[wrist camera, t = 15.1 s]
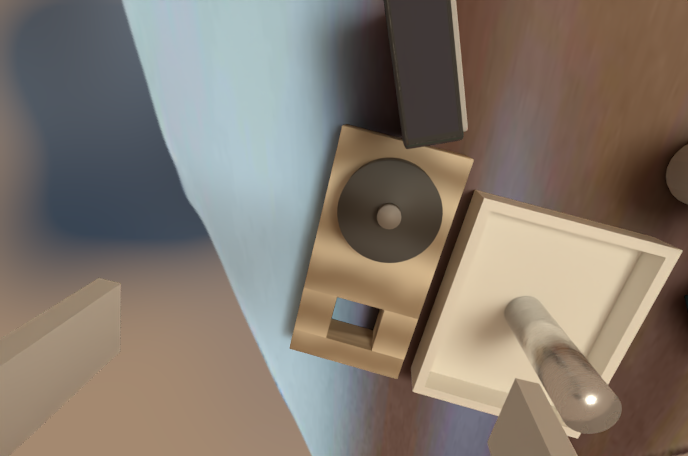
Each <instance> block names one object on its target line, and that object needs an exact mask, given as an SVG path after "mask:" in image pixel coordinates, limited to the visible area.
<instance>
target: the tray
mask: <svg viewBox="0 0 688 456" xmlns="http://www.w3.org/2000/svg"><path fill="white" fill-rule="evenodd" d="M682 251H683V250H681V249H679V248H676V247H674V246H672V245H670V244H668V243H666V242H664V241H661V240H659V239H657V238H655V237H653V236H649V235H645V234H641V233H637V232H634V231H630V230H626V229H622V228H618V227H615V226H611V225H607V224H603V223H600V222H596V221H592V220H588V219H584V218H581V217H577V216H573V215H569V214H566V213H562V212H558V211H554V210H550V209H547V208H543V207H539V206H535V205H531V204H528V203H524V202H520V201H516V200H513V199H509V198H505V197H501V196H497V195H494V194H490V193H486V192H482V191H478V190H474V193H473V196H472V199H471V202H470V204H469V207H468V210H467V213H466V215H465V218H464V221H463V224H462V227H461V229H460V232H459V235H458V238H457V241H456V243H455V246H454V249H453V252H452V254H451V257H450V260H449V263H448V266H447V268H446V271H445V274H444V277H443V280H442V282H441V285H440V288H439V291H438V293H437V296H436V299H435V302H434V305H433V307H432V310H431V313H430V316H429V319H428V321H427V324H426V327H425V330H424V332H423V335H422V338H421V341H420V344H419V346H418V349H417V352H416V355H415V358H414V360H413V363H412V366H411V378H412V389H413V392H416V393H419V394H423V395H426V396H430V397H433V398H437V399H440V400H444V401H447V402H451V403H454V404H458V405H461V406H465V407H468V408H472V409H475V410H479V411H482V412H486V413H490V414H493V415H497V416H499V414H500V412H501V410H502V407H503V405H504V403H505V400H506V398H507V396H508V394H509V391H510V389H511V387H512V384H513V382H514V380H515V378H517V379H522V380H526V381H530V382H534V383H538V384H540V386H541V388H542V390H543V392H544V394H545V395H546V397H547V399H548V401H549V403H550V405H551V407H552V409H553V410H554V412H555V414H556V416H557V418H558V420H559V422H560V424H561V425H562V427H563V429H564V431H565V433H566V435H567V436H570V437H574V438H577V439H578V437H579V436H580V434H581V433H580V432H577V431H574V430H572V429H571V428H569V427H568V426H567V425H566V424H565V423H564V421H563V420H562V418H561V416H560V414H559V413H558V411H557V409H556V407H555V406H554V404H553V402H552V400H551V399H550V397H549V395H548V393H547V392H546V390H545V388H544V386H543V385H542V383H541V381H540V379H539V378H538V376H537V374H536V372H535V371H534V369H533V367H532V365H531V364H530V362H529V360H528V358H527V356H526V355H525V353H524V351H523V349H522V348H521V346H520V344H519V342H518V341H517V339H516V337H515V335H514V334H513V332H512V330H511V328H510V327H509V325H508V323H507V321H506V319H505V315H504V312H505V308H506V306H507V305H508V303H509V302H510V301H512V300H513V299H515V298H517V297H520V296H531V297H534V298H536V299H538V300H539V301H540V302H541V303H542V304H543V306H544V307H545V308H546V309H547V311H548V312H549V313H550V314H551V315H552V317H553V318H554V319H555V320H556V322H557V323H558V324H559V325H560V327H561V328H562V329H563V330H564V332H565V333H566V334H567V335H568V337H569V338H570V339H571V340H572V341H573V343H574V344H575V345H576V346H577V348H578V349H579V350H580V351H581V353H582V354H583V355H584V356H585V358H586V359H587V360H588V361H589V362H590V364H591V365H592V366H593V367H594V369H595V370H596V371H597V372H598V374H599V375H600V376H601V377H602V379H603V380H604V381H605V382H606V384H607V385H608V384H609V382H610V380H611V378H612V376H613V375H614V373H615V371H616V369H617V368H618V366H619V364H620V362H621V360H622V359H623V357H624V355H625V353H626V351H627V350H628V348H629V346H630V344H631V342H632V341H633V339H634V337H635V335H636V334H637V332H638V330H639V328H640V326H641V325H642V323H643V321H644V319H645V317H646V316H647V314H648V312H649V310H650V308H651V307H652V305H653V303H654V301H655V300H656V298H657V296H658V294H659V292H660V291H661V289H662V287H663V285H664V283H665V282H666V280H667V278H668V276H669V274H670V273H671V271H672V269H673V267H674V266H675V264H676V262H677V260H678V258H679V257H680V255H681V253H682Z"/></svg>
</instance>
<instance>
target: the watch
mask: <svg viewBox="0 0 688 456" xmlns="http://www.w3.org/2000/svg"><path fill="white" fill-rule="evenodd" d="M684 297H685V302H686V306H687V311H688V295H685V296H684Z"/></svg>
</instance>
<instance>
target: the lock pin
mask: <svg viewBox="0 0 688 456" xmlns="http://www.w3.org/2000/svg"><path fill="white" fill-rule="evenodd" d="M504 315H505V319H506V321H507V323H508V325H509V327H510V328H511V330H512V332H513V334H514V335H515V337H516V339H517V341H518V342H519V344H520V346H521V348H522V349H523V351H524V353H525V355H526V356H527V358H528V360H529V362H530V364H531V365H532V367H533V369H534V371H535V372H536V374H537V376H538V378H539V379H540V381H541V383H542V385H543V386H544V388H545V390H546V392H547V393H548V395H549V397H550V399H551V400H552V402H553V404H554V406H555V407H556V409H557V411H558V413H559V414H560V416H561V418H562V420H563V421H564V423H565V424H566V425H567V426H568V427H569V428H571V429H572V430H574V431H577V432H580V433H586V434H592V433H599V432H602V431H604V430H607V429H609V428H610V427H612V426H613V425H614V424H615V423H616V422H617V420H618V419H619V417H620V415H621V410H622V406H621V402H620V400H619V399H618V397H617V396H616V395H615V393H614V392H613V391H612V390H611V388H610V387H609V386H608V385H607V384H606V382H605V381H604V380H603V379H602V377H601V376H600V375H599V374H598V372H597V371H596V370H595V369H594V367H593V366H592V365H591V364H590V362H589V361H588V360H587V359H586V358H585V356H584V355H583V354H582V353H581V351H580V350H579V349H578V348H577V346H576V345H575V344H574V343H573V341H572V340H571V339H570V338H569V337H568V335H567V334H566V333H565V332H564V330H563V329H562V328H561V327H560V325H559V324H558V323H557V322H556V320H555V319H554V318H553V317H552V315H551V314H550V313H549V312H548V311H547V309H546V308H545V307H544V306H543V304H542V303H541V302H540V301H539V300H538V299H536V298H534V297H531V296H520V297H517V298H515V299H513V300H512V301H510V302H509V303H508V305H507V306H506V308H505V312H504Z"/></svg>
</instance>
